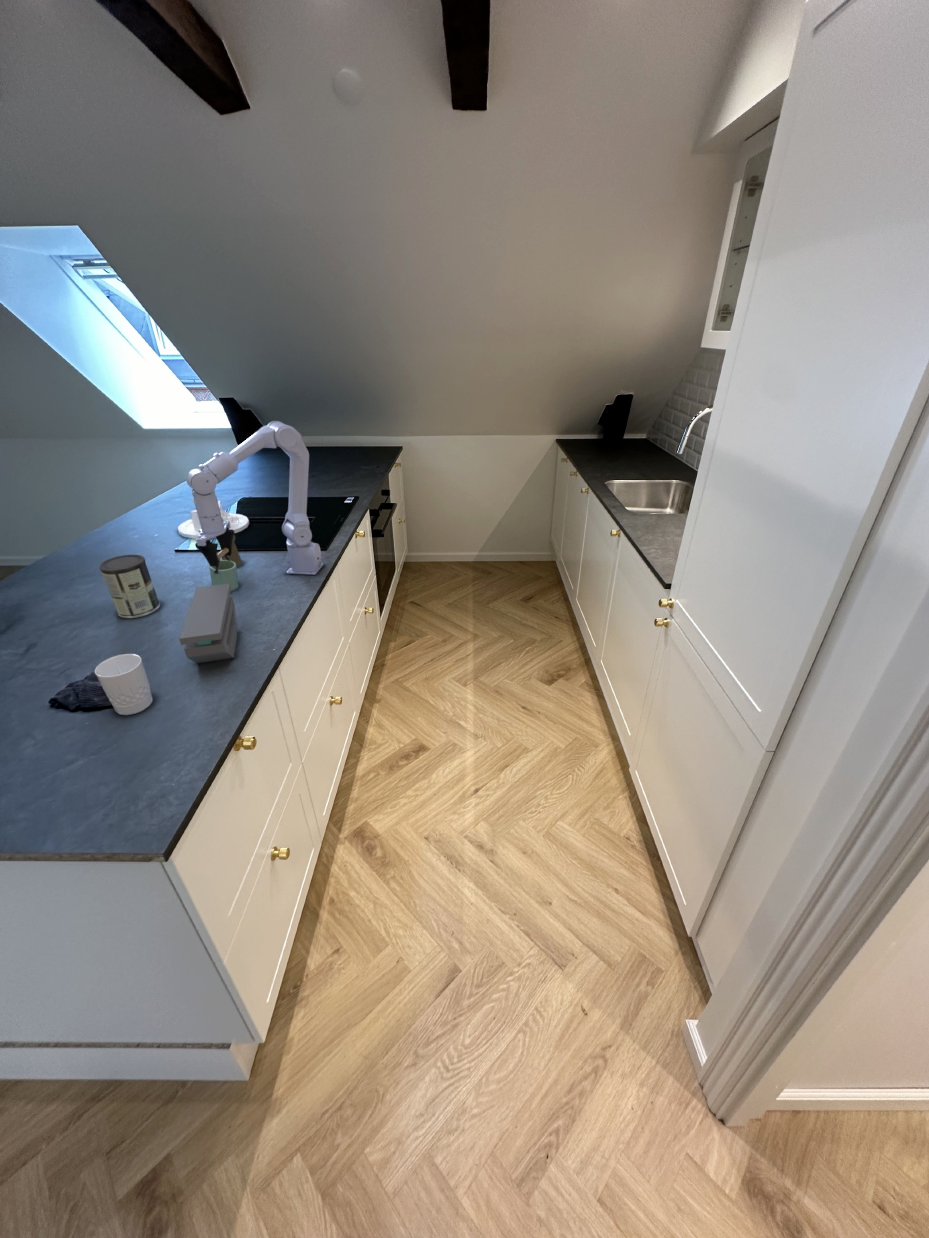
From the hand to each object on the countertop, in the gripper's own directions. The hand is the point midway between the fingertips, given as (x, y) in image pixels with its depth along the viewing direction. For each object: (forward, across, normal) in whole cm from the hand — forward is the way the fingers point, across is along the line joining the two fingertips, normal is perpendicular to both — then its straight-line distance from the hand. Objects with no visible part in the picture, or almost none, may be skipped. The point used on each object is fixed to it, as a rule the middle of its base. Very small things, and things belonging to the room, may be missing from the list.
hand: (221, 560), depth 147 cm
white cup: (+9, +53, +7) cm, 54 cm away
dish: (+9, -49, -31) cm, 59 cm away
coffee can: (+9, +15, -18) cm, 25 cm away
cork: (+9, -16, -7) cm, 20 cm away
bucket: (+8, 0, -1) cm, 9 cm away
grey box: (+9, +31, +14) cm, 35 cm away
